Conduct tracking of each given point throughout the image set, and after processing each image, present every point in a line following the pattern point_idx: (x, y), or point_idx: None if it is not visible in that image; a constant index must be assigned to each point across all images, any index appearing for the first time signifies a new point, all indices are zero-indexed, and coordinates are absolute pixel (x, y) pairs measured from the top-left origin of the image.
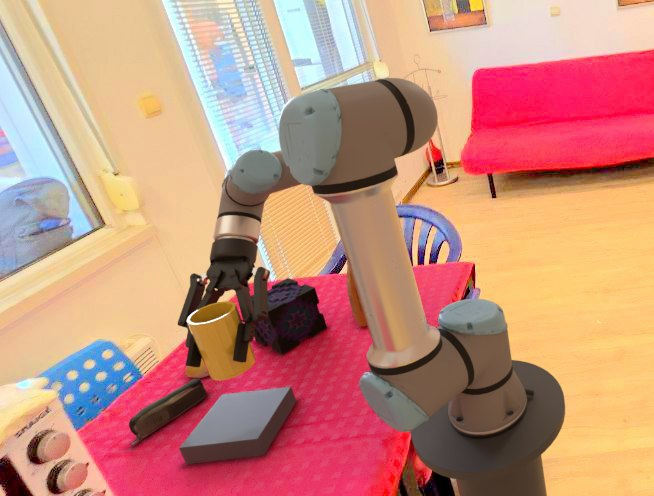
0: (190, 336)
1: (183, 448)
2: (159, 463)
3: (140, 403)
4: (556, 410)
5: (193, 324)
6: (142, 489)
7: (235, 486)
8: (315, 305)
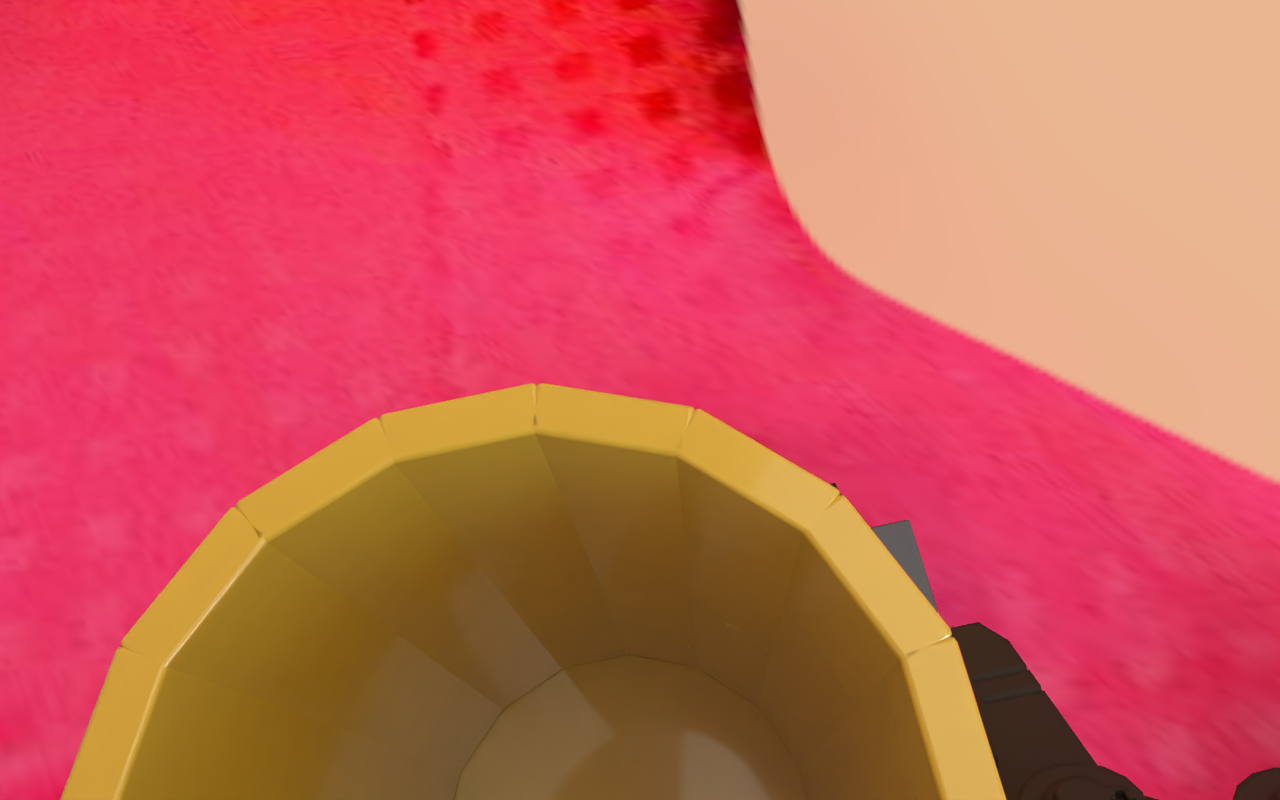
0: (1001, 718)
1: (882, 525)
2: (1065, 550)
3: None
4: None
5: (575, 391)
6: (985, 399)
7: None
8: None
